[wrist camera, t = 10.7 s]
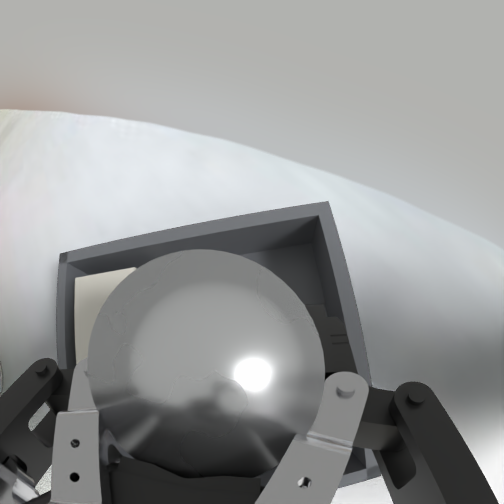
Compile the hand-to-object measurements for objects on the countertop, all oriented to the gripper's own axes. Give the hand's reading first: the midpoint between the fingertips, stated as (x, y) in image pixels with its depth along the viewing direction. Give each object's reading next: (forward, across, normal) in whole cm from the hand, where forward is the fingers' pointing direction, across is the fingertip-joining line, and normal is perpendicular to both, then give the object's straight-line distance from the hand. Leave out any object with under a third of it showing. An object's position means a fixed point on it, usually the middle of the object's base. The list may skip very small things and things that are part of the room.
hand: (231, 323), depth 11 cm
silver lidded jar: (+2, 0, +5) cm, 5 cm away
